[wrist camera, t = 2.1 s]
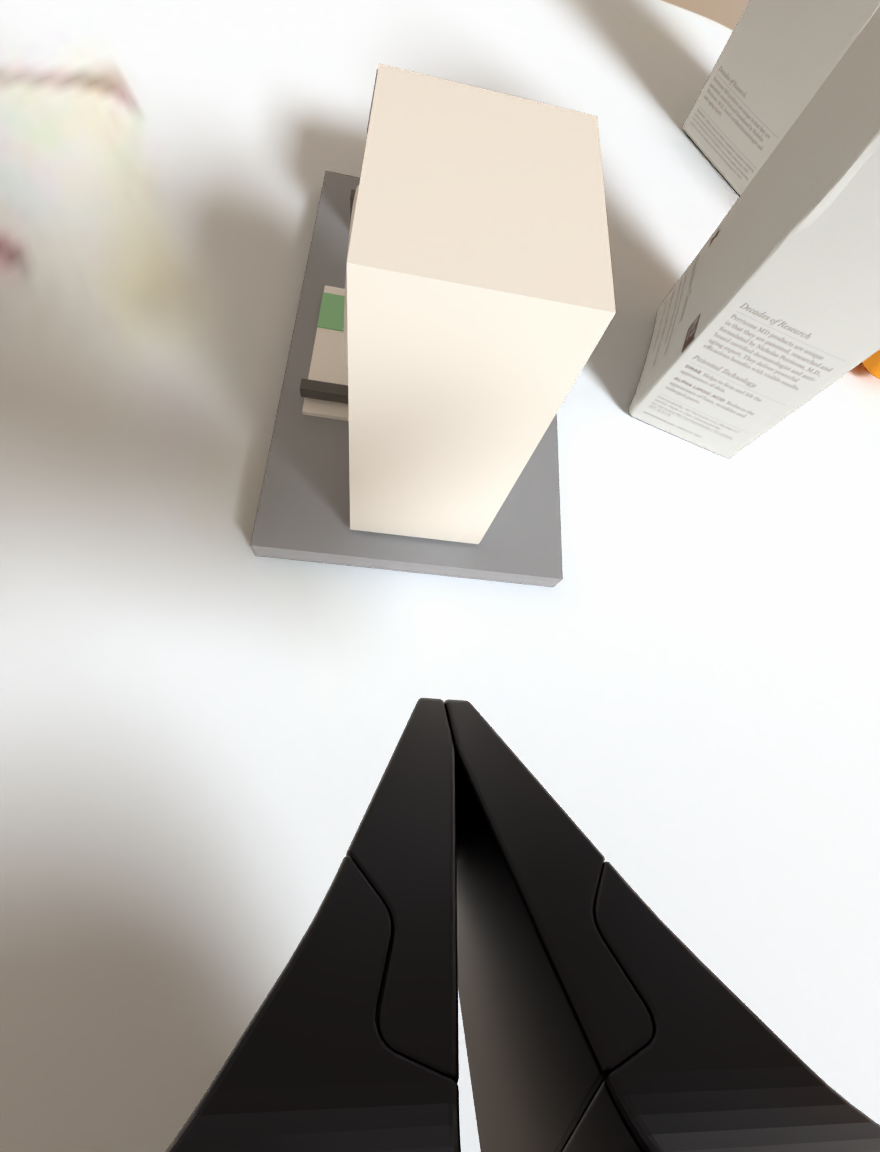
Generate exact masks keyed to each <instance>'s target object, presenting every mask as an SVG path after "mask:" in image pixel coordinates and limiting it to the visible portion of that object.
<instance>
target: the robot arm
mask: <svg viewBox="0 0 880 1152" xmlns="http://www.w3.org/2000/svg"><path fill="white" fill-rule="evenodd" d="M604 860H605V859H604V856H603V855H602V854H601V853H600V852H599V850H598V849H597V848H596V847H595V846H594V845H593V844H592V842H591V841H590V840H589V839H588V838H587V837H586V835H585V834H584V833H583V832H582V831H581V830H580V829H579V827H578V826H577V825H576V824H575V823H574V822H573V821H572V819H571V818H570V817H569V816H568V815H567V814H566V812H565V811H564V810H563V809H562V808H561V807H560V806H559V804H558V803H557V802H556V801H555V800H554V799H553V797H552V796H551V795H550V794H549V793H548V792H547V791H546V789H545V788H544V787H543V786H542V785H541V784H540V783H539V781H538V780H537V779H536V778H535V777H534V776H533V774H532V773H531V772H530V771H529V770H528V769H527V768H526V766H525V765H524V764H523V763H522V762H521V761H520V760H519V758H518V757H517V756H516V755H515V754H514V753H513V751H512V750H511V749H510V748H509V747H508V746H507V745H506V743H505V742H504V741H503V740H502V739H501V738H500V737H499V735H498V734H497V733H496V732H495V731H494V730H493V728H492V727H491V726H490V725H489V724H488V723H487V722H486V720H485V719H484V718H483V717H482V716H481V715H480V714H479V712H478V711H477V710H476V709H475V708H474V707H473V705H472V704H471V703H470V702H468V701H463V700H446V701H445V702H443V701H442V700H441V699H432V698H420V699H419V700H418V702H417V704H416V706H415V708H414V710H413V712H412V714H411V716H410V719H409V721H408V723H407V725H406V727H405V729H404V731H403V734H402V736H401V738H400V740H399V742H398V744H397V746H396V749H395V751H394V753H393V755H392V757H391V759H390V761H389V763H388V766H387V768H386V770H385V772H384V774H383V776H382V778H381V781H380V783H379V785H378V787H377V789H376V791H375V793H374V795H373V798H372V800H371V802H370V804H369V806H368V808H367V810H366V813H365V815H364V817H363V819H362V821H361V823H360V825H359V828H358V830H357V832H356V834H355V836H354V838H353V840H352V842H351V845H350V847H349V849H348V851H347V854H346V857H344V859H343V861H342V863H341V865H340V867H339V869H338V872H337V874H336V876H335V878H334V880H333V882H332V884H331V886H330V888H329V890H328V892H327V894H326V896H325V898H324V900H323V902H322V904H321V906H320V908H319V909H318V911H317V913H316V915H315V917H314V919H313V921H312V923H311V924H310V926H309V928H308V930H307V931H306V933H305V935H304V936H303V938H302V940H301V941H300V943H299V945H298V947H297V948H296V950H295V952H294V953H293V955H292V957H291V958H290V960H289V962H288V964H287V965H286V967H285V968H284V970H283V972H282V973H281V975H280V976H279V978H278V980H277V981H276V983H275V984H274V986H273V987H272V989H271V991H270V992H269V994H268V995H267V997H266V999H265V1000H264V1002H263V1003H262V1005H261V1006H260V1008H259V1010H258V1011H257V1013H256V1014H255V1016H254V1018H253V1019H252V1021H251V1022H250V1024H249V1025H248V1027H247V1029H246V1030H245V1032H244V1033H243V1035H242V1036H241V1038H240V1040H239V1041H238V1043H237V1044H236V1046H235V1048H234V1049H233V1051H232V1052H231V1054H230V1055H229V1057H228V1059H227V1060H226V1062H225V1063H224V1065H223V1067H222V1068H221V1070H220V1071H219V1073H218V1074H217V1076H216V1078H215V1079H214V1081H213V1082H212V1084H211V1086H210V1087H209V1089H208V1090H207V1092H206V1093H205V1095H204V1096H203V1098H202V1099H201V1101H200V1102H199V1104H198V1105H197V1107H196V1108H195V1110H194V1111H193V1113H192V1114H191V1116H190V1117H189V1119H188V1120H187V1122H186V1123H185V1125H184V1126H183V1128H182V1129H181V1130H180V1132H179V1133H178V1135H177V1136H176V1138H175V1139H174V1141H173V1142H172V1143H171V1145H170V1146H169V1148H168V1149H167V1150H166V1152H461V1147H460V1127H459V1090H458V1085H457V1082H458V1078H459V1063H458V991H459V998H460V1005H461V1013H462V1020H463V1027H464V1034H465V1041H466V1048H467V1056H468V1063H469V1070H470V1077H471V1084H472V1092H473V1099H474V1106H475V1113H476V1120H477V1127H478V1135H479V1142H480V1149H481V1152H880V1125H879V1124H877V1123H876V1122H874V1121H873V1120H872V1119H870V1118H869V1117H868V1116H866V1115H865V1114H864V1113H862V1112H861V1111H860V1110H858V1109H857V1108H855V1107H854V1106H853V1105H851V1104H850V1103H849V1102H848V1101H847V1100H845V1099H844V1098H843V1097H842V1096H841V1095H839V1094H838V1093H837V1092H836V1091H835V1090H833V1089H832V1088H831V1087H830V1086H829V1085H828V1084H826V1083H825V1082H824V1081H823V1080H822V1079H821V1078H820V1077H819V1076H818V1075H817V1074H816V1073H815V1072H814V1071H813V1070H811V1069H810V1068H809V1067H808V1066H807V1065H806V1064H805V1063H804V1062H803V1061H802V1060H801V1059H800V1058H799V1057H798V1056H797V1055H796V1054H795V1053H794V1052H793V1051H792V1050H791V1049H790V1048H789V1047H788V1046H787V1045H786V1044H785V1043H784V1042H783V1041H782V1040H781V1039H780V1038H779V1037H778V1036H777V1035H776V1034H775V1033H774V1032H773V1031H772V1030H771V1029H770V1028H768V1027H767V1026H766V1025H765V1024H764V1023H763V1022H762V1021H761V1020H760V1019H759V1018H758V1017H757V1016H756V1015H755V1014H754V1013H753V1012H752V1011H751V1010H750V1009H749V1008H748V1007H747V1006H746V1005H745V1004H744V1003H743V1002H742V1001H741V1000H740V999H739V998H738V997H737V996H736V995H735V994H734V993H733V992H732V991H731V990H730V989H729V988H728V987H727V986H726V985H725V984H724V983H723V982H722V981H721V980H720V979H719V978H718V977H717V976H716V975H715V974H714V973H713V972H712V971H711V970H710V969H709V968H707V967H706V966H705V965H704V964H703V963H702V962H701V961H700V960H699V959H698V958H697V957H696V956H695V954H694V953H693V952H692V951H691V950H690V949H689V948H688V947H687V946H686V945H685V944H684V943H683V942H682V941H681V940H680V939H679V938H678V937H677V936H676V935H675V934H674V933H673V932H672V931H671V930H670V929H669V928H668V927H667V926H666V925H665V924H664V923H663V922H662V921H661V920H660V919H659V918H658V917H657V915H656V914H655V913H654V912H653V911H652V910H651V909H650V908H649V907H648V906H647V904H646V903H645V902H644V901H643V900H642V899H641V898H640V897H639V896H638V894H637V893H636V892H635V891H634V890H633V889H632V888H631V887H630V886H629V885H628V883H627V882H626V881H625V880H624V879H623V878H622V877H621V875H620V874H619V873H618V872H617V871H616V870H615V869H614V867H613V866H612V865H611V864H610V863H609V862H604Z"/></svg>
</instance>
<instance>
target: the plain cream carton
mask: <svg viewBox="0 0 880 1152" xmlns="http://www.w3.org/2000/svg"><path fill="white" fill-rule="evenodd" d="M615 313H616V309H615V298H614V288H613V277H612V267H611V256H610V246H609V235H608V224H607V214H606V203H605V193H604V182H603V172H602V161H601V150H600V140H599V129H598V119H597V116H594V115H590V114H586V113H582V112H578V111H574V110H569V109H565V108H561V107H557V106H553V105H549V104H545V103H540V102H536V101H532V100H528V99H524V98H520V97H516V96H512V95H507V94H503V93H499V92H495V91H491V90H487V89H483V88H478V87H474V86H470V85H466V84H462V83H458V82H454V81H449V80H445V79H441V78H437V77H433V76H429V75H425V74H420V73H416V72H412V71H408V70H404V69H400V68H396V67H391V66H387V65H383V64H379V67H378V73H377V79H376V85H375V91H374V98H373V104H372V110H371V116H370V122H369V128H368V134H367V141H366V147H365V153H364V159H363V165H362V171H361V177H360V184H359V185H358V186H357V188H356V190H353V189H351V194H350V231H349V241H348V253H347V265H346V280H345V300H344V362H345V368H346V370H347V371H348V385H341V384H335V383H328V382H322V381H315V380H309V379H302V378H301V384H300V394H301V397H305V398H312V399H318V400H325V401H332V402H339V403H345V404H348V406H349V484H350V530H359V531H368V532H376V533H385V534H394V535H402V536H411V537H419V538H428V539H437V540H445V541H454V542H463V543H471V544H479V543H480V541H481V540H482V538H483V536H484V535H485V533H486V531H487V530H488V528H489V526H490V525H491V523H492V521H493V519H494V518H495V516H496V514H497V513H498V511H499V509H500V508H501V506H502V504H503V503H504V501H505V499H506V498H507V496H508V494H509V492H510V491H511V489H512V487H513V486H514V484H515V482H516V481H517V479H518V477H519V476H520V474H521V472H522V471H523V469H524V467H525V465H526V464H527V462H528V460H529V459H530V457H531V455H532V454H533V452H534V450H535V449H536V447H537V445H538V443H539V442H540V440H541V438H542V437H543V435H544V433H545V432H546V430H547V428H548V427H549V425H550V423H551V422H552V420H553V418H554V416H555V415H556V413H557V411H558V410H559V408H560V406H561V405H562V403H563V401H564V400H565V398H566V396H567V395H568V393H569V391H570V389H571V388H572V386H573V384H574V383H575V381H576V379H577V378H578V376H579V374H580V373H581V371H582V369H583V368H584V366H585V364H586V362H587V361H588V359H589V357H590V356H591V354H592V352H593V351H594V349H595V347H596V346H597V344H598V342H599V340H600V339H601V337H602V335H603V334H604V332H605V330H606V329H607V327H608V325H609V324H610V322H611V320H612V319H613V317H614V315H615Z"/></svg>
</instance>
